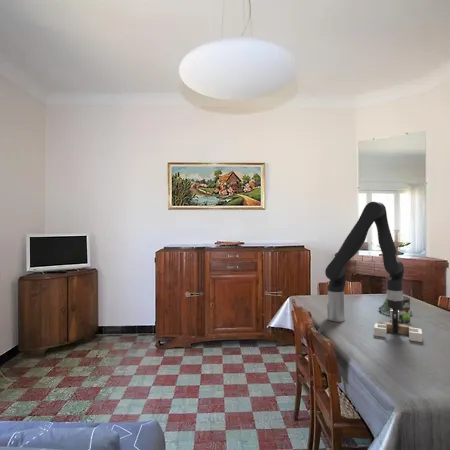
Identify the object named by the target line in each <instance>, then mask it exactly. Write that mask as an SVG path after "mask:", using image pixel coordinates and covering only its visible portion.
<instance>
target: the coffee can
mask: <svg viewBox="0 0 450 450" xmlns="http://www.w3.org/2000/svg"><path fill="white" fill-rule="evenodd" d="M391 310H393V309H392V308H390V316H389V319H390V321H389V323H392V319H391ZM398 311H399V313H400V314H399V321H398V324H402V325H409V326H410V325H411V316H410V311H411V298H410V297H408V296H404V295H403V308H402V309H398Z"/></svg>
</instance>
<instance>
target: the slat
mask: <svg viewBox="0 0 450 450" xmlns="http://www.w3.org/2000/svg"><path fill="white" fill-rule="evenodd" d="M378 324H386V325H387V332H390V333H394V332H393V325H392V322H390V321H389V322H387V321H381V320H378ZM409 327H411V328H415V327H414V325H410V324H409V325H402V324H398V333H397V334H401V335H406V336H407V335H408V336H409Z"/></svg>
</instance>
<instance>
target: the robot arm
mask: <svg viewBox="0 0 450 450" xmlns="http://www.w3.org/2000/svg"><path fill="white" fill-rule="evenodd" d="M387 214H388V212H387V208H386V205H385V204H384V203H382V202H379V201H369V202H368V203H367V204H365V206H364V208H363V209H362V212H361V214H360V216H359V218H358V220H357V221H356V222H355V224H354V225H353V227H352V229H351V230H350V232H349V233H348V234H347V236H346V238H345V239H344V240H343V243H342V245H341V246H340V248H339V249H338V251H337V253H336V255H335V256H334V257H333V258H332V259H331V261H330V263H329V264H328V265H327V267H326V268H325V271H324V272H325V273H324V274H325V276H326V278H327V279H328V280H329V282H328V285H327V305H326V307H327V308H326V310H327V314H326V315H327V316H326V317H327V321H331V322H336V323H337V322H338V323H339V322H340V323H341V322H344V321H345V320H346V319H345V318H346V316H345V314H346V312H345V311H346V309H345V308H346V307H345V287H346V268H345V266H346V265H347V263H349V261H350V260H352V259H353V258H354V256H355V255H356V254H358V252H359V251H360V249H361V248H362V247H363V246H364V243H365V241H366V239H367V235H368V232H369V229H370V228H371V226H372V225H373V223H374V224H375V227H376V231H377V241H378V245H379V248H380V251H381V254H382V263H383V267H384V269H385V271H386V273H388V274H389V277H388V279H387V281H386V298H387V307H389V308H392V309H393V310H391V319H392V322H391V323H392V325H393V332H392V333H394V334H395V333H396V334H399V333H398V321H399V314H400V313H399V311H398V309H402V308H403V296H404V291H403V279H404V273H405V272H404V271H405V267H404V264H403V262H402V261H400V259H399V260H398V259H397V253H398V251H397V248H396V245H395V242H394V239H393V236H392V234H391V230H390V225H389V221H388V215H387Z"/></svg>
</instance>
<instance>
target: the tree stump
mask: <svg viewBox="0 0 450 450" xmlns="http://www.w3.org/2000/svg"><path fill="white" fill-rule="evenodd" d="M378 310H379V312H380V313H381V314H382V315H384V316H387V317H390V308H389V307H387V297H386V298H385V300H384V301H383V304H382V305H380V306H379V307H378ZM412 316H413V312H412V310H410V317H412Z"/></svg>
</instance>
